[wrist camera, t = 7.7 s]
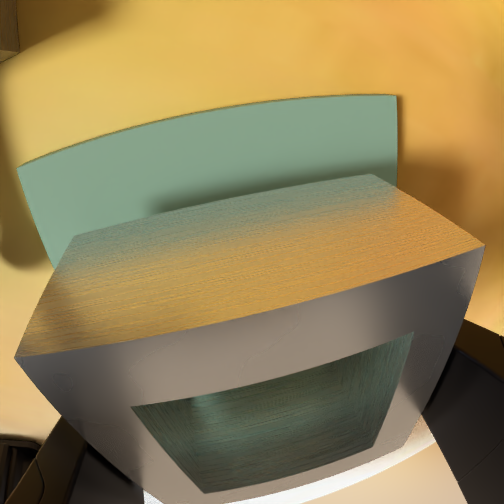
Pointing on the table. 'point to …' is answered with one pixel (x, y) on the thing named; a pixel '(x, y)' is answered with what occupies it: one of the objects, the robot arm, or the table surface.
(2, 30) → the vise block
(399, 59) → the table surface
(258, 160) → the felt pad
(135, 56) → the table surface
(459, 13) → the table surface
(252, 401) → the hollow square block
